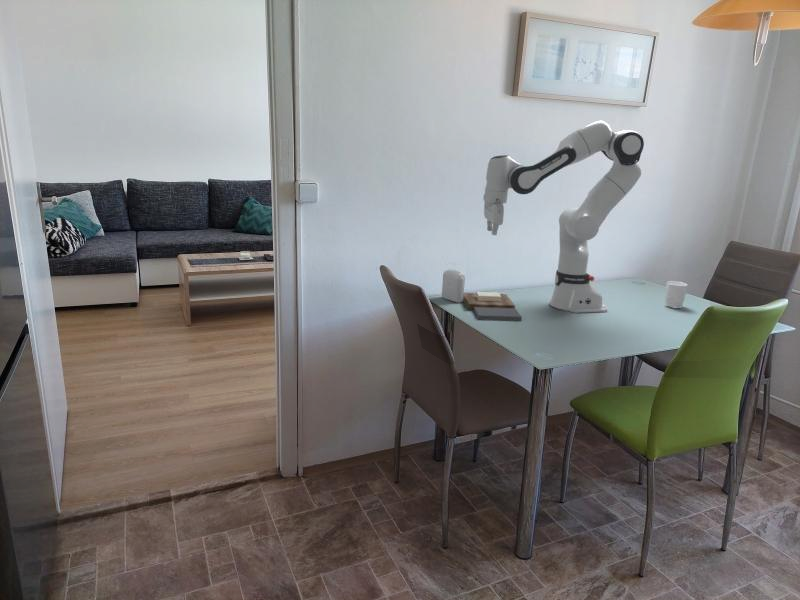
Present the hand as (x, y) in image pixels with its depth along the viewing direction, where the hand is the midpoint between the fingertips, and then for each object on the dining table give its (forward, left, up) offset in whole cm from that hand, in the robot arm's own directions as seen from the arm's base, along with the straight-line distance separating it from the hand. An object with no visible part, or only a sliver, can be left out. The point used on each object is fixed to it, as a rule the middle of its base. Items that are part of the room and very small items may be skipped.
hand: (491, 232), depth 230 cm
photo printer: (+14, 0, -28) cm, 32 cm away
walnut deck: (0, +6, -28) cm, 29 cm away
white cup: (-79, 0, -28) cm, 84 cm away
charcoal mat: (-1, +20, -28) cm, 35 cm away
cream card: (0, +6, -26) cm, 26 cm away
